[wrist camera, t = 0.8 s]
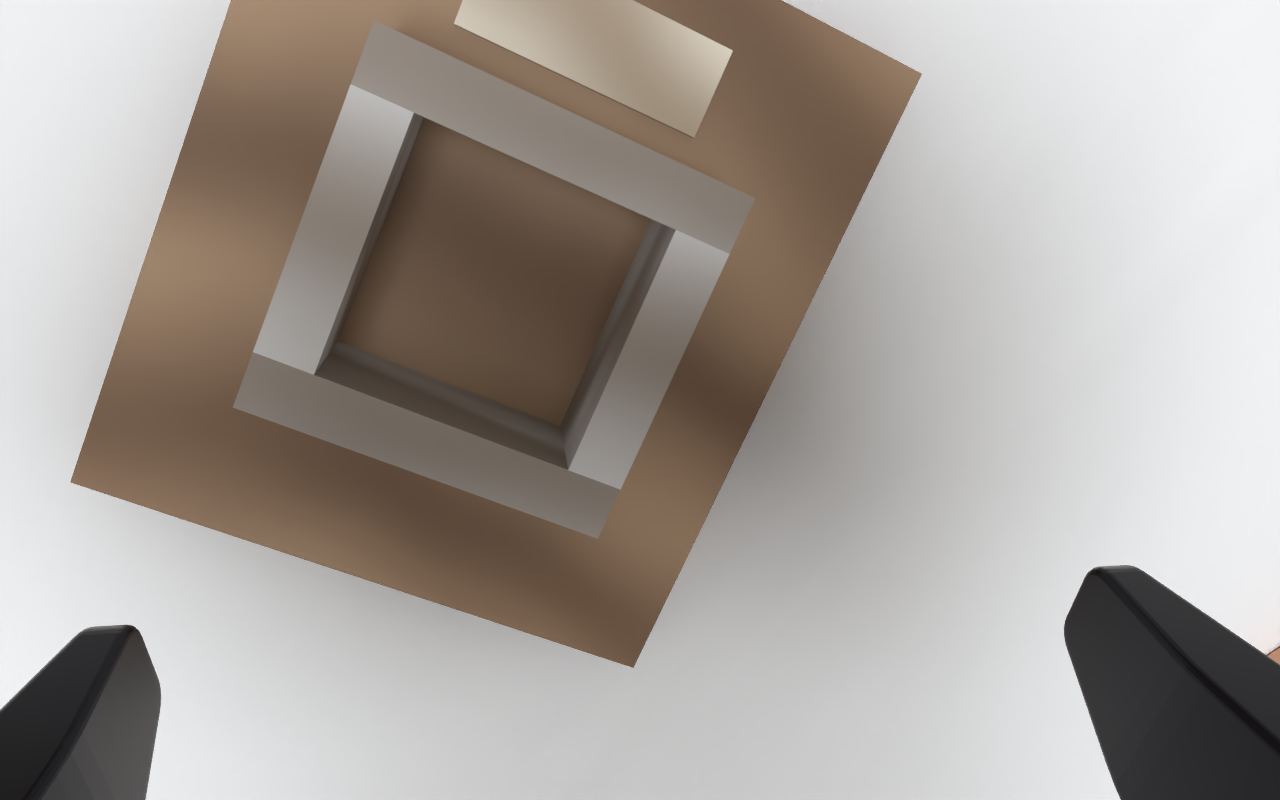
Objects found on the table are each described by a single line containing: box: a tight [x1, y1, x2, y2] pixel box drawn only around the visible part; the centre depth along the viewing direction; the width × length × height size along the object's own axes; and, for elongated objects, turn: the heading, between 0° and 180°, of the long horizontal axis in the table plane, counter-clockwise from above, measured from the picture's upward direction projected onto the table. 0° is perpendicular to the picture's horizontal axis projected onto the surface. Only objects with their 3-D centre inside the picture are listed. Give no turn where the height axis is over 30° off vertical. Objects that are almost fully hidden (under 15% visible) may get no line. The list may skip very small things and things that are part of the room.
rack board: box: [71, 0, 922, 667], centre depth 22 cm, size 16×14×4 cm
